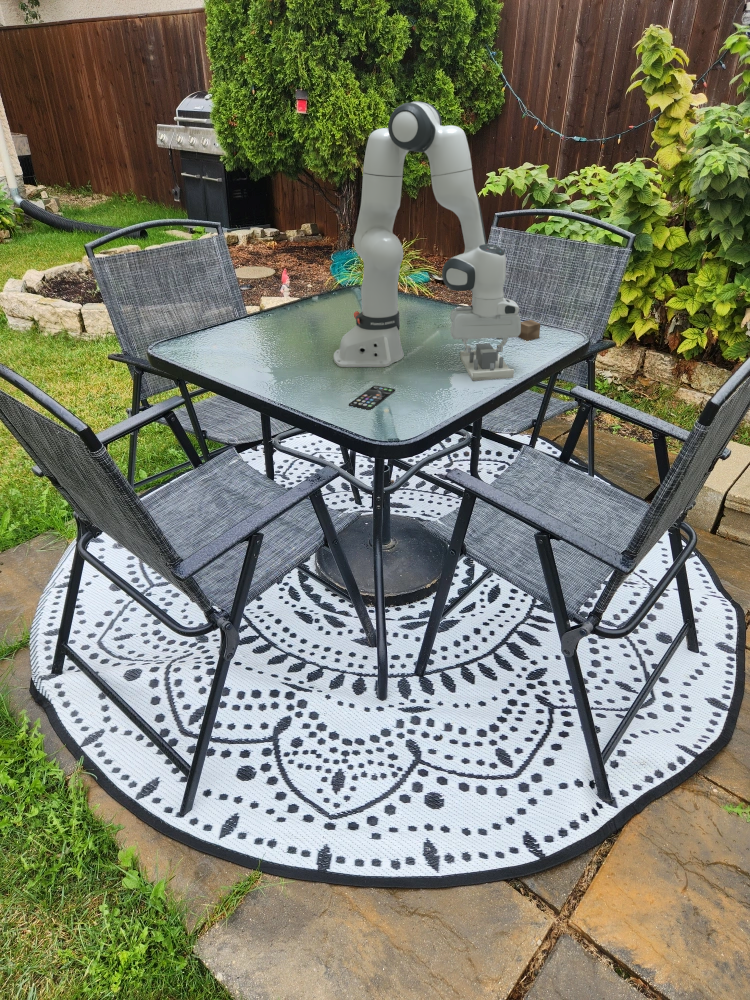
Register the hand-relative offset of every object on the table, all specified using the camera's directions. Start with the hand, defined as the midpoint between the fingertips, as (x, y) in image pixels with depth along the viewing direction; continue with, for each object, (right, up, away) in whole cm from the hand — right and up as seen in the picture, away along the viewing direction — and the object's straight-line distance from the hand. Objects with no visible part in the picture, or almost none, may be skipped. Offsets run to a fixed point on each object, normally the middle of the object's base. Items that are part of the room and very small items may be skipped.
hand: (483, 352), depth 198 cm
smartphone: (-33, -16, -11) cm, 38 cm away
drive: (+1, -3, +4) cm, 5 cm away
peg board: (+1, -4, +4) cm, 6 cm away
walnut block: (+19, +10, +24) cm, 32 cm away
